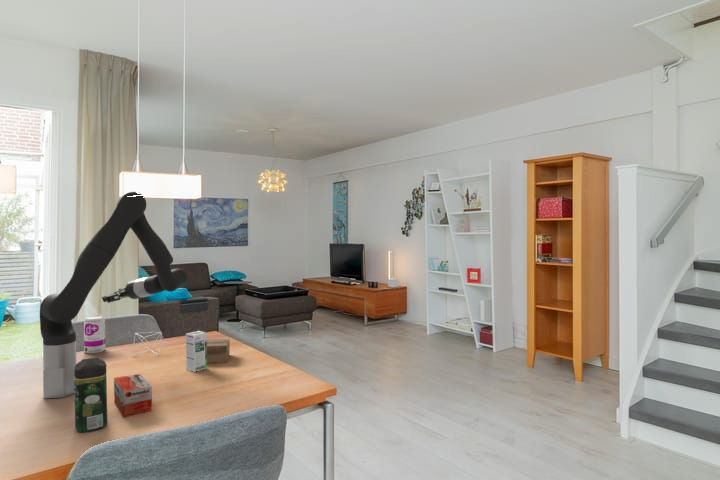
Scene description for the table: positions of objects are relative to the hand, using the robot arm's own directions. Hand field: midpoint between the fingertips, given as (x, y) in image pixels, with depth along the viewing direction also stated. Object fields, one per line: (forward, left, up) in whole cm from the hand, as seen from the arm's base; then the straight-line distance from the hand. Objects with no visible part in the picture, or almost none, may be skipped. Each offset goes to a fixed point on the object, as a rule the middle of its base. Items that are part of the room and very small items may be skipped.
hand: (111, 295), depth 185 cm
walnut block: (0, -40, -28) cm, 49 cm away
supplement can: (+20, +14, -28) cm, 37 cm away
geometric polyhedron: (+12, -10, -28) cm, 32 cm away
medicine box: (-48, -22, -28) cm, 60 cm away
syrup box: (-13, -35, -28) cm, 47 cm away
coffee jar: (-61, -15, -28) cm, 69 cm away
